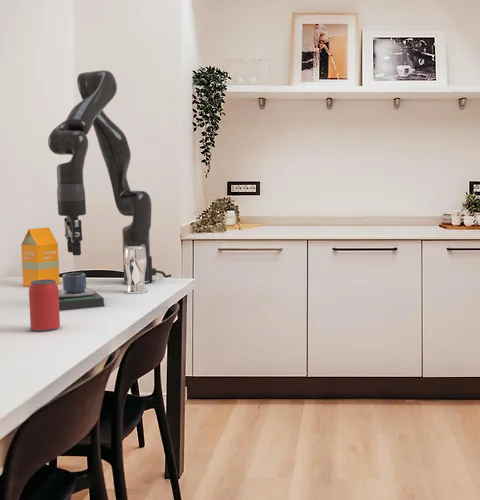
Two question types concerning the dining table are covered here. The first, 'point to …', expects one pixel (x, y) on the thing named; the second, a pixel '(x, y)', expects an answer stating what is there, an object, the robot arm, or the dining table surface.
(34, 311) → the beer can
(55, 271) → the orange juice
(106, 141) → the robot arm
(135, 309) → the dining table surface
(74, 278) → the cup
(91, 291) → the platter
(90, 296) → the scale
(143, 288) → the beer glass
